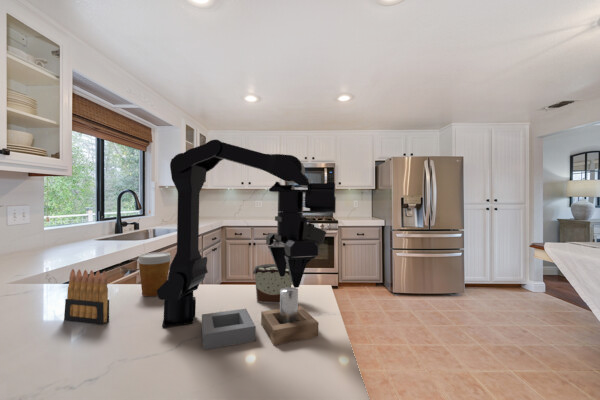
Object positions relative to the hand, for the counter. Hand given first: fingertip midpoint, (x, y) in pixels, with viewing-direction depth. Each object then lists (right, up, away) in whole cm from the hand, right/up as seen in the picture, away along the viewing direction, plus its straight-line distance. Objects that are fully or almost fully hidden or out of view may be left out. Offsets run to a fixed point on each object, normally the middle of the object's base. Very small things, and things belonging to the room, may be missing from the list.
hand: (288, 281), depth 59 cm
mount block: (0, -11, 0) cm, 11 cm away
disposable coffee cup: (-43, -11, +23) cm, 50 cm away
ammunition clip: (-48, -10, +3) cm, 49 cm away
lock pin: (0, -11, 0) cm, 11 cm away
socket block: (-13, -11, -3) cm, 17 cm away
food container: (-5, -12, +19) cm, 23 cm away
